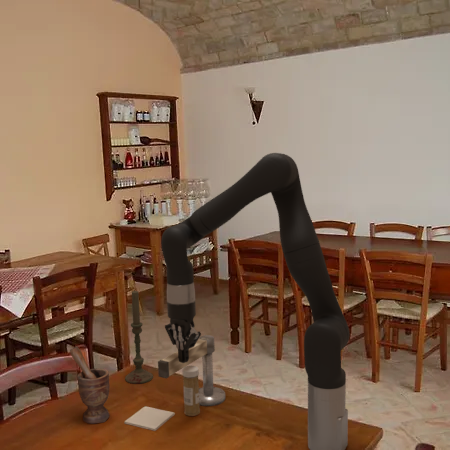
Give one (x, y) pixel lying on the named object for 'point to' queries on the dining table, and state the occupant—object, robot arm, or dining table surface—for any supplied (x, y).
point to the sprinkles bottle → (191, 390)
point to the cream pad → (149, 418)
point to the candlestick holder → (137, 346)
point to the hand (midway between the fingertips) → (183, 361)
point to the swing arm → (196, 352)
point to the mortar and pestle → (92, 389)
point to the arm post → (209, 385)
